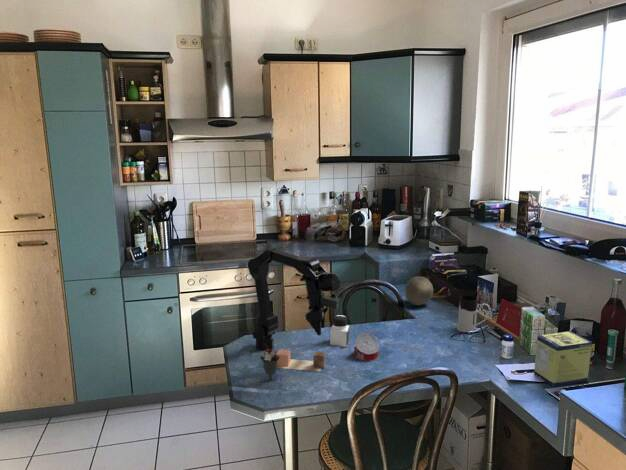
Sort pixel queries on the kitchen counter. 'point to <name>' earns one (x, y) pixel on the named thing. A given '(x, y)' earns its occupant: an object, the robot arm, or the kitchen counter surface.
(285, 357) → the block
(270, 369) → the sundae
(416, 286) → the cantaloupe
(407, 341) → the kitchen counter surface
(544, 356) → the protein box
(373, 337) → the canned food
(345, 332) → the medicine bottle
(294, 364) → the strip
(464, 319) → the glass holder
